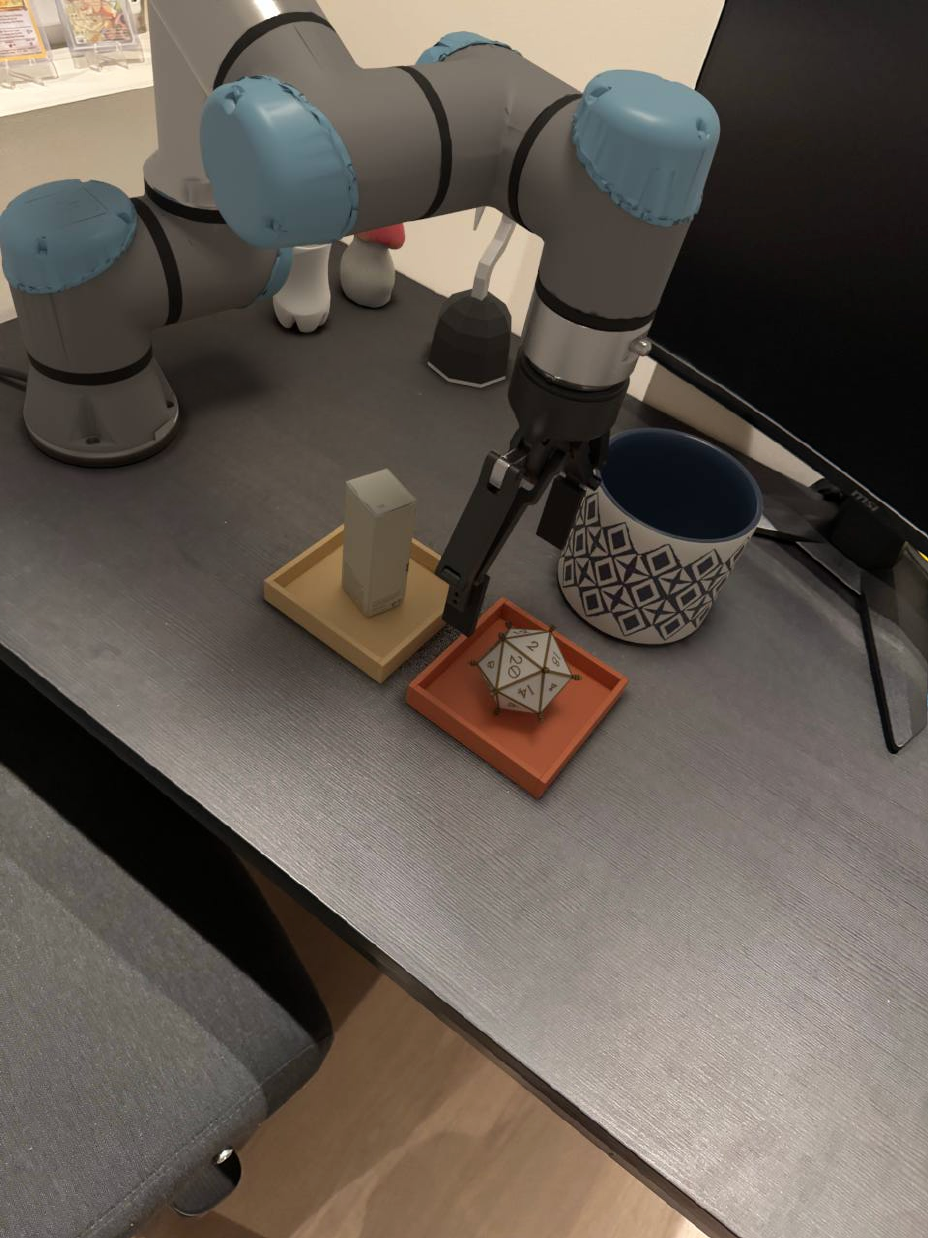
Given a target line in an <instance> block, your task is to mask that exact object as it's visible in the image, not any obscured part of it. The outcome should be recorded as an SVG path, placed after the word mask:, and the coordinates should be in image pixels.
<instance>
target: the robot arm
mask: <svg viewBox="0 0 928 1238" xmlns="http://www.w3.org/2000/svg"><path fill="white" fill-rule="evenodd" d="M146 5H147V6H146V9H147V19H148V22H147V23H148V32H149V33H148V34H149V45H150V47H149V48H150V57H151V71H152V72H151V73H152V83H153V97H154V110H155V121H156V134H157V135H156V136H157V147H158V148H157V149H156V150H155V151H153V152H152V153H151V154H150V155H149V156H148V157H147V158H146V159H145V161H144V163H143V166H142V171H143V183H144V194H143V195H139V196H132V197H129V195H128V194H126V192H125V191H123V190H122V189H121V188H120V187H118V186H116V185H115V184H114V185H113V184H111V183H109V182H106V181H103V180H102V181H101V180H97V179H90V180H87V181H82V180H81V179H80V178H66V179H60V180H59V179H57V180H53V181H49V182H45V183H42V184H39V185H36V186H33V187H31V188H28V189H26V190H25V191H23V192H21V193H20V194H18V195H17V196H15V197H14V198H13V199H11V201H9V202H8V203H7V205H6V207H5V209H4V210H3V211H2V212H1V214H0V256H1V268H2V273H3V276H4V278H5V279H6V281H7V283H8V287H9V291H10V294H11V298H12V302H13V306H14V310H15V314H16V317H17V321H18V325H19V328H20V332H21V336H22V340H23V343H24V347H25V350H26V351H25V352H26V354H27V359H28V362H29V365H28V366H29V367H28V373H27V372H23V371H21V370H20V371H19V370H17V369H12V368H8V367H3V366H0V376H1V377H6V378H9V379H14V380H17V381H21V382H25V383H26V391H25V399H24V403H23V409H22V410H23V411H22V414H23V419H24V422H25V427H26V429H27V433H28V436H29V438H30V440H31V442H32V443H33V444H34V445H35V446H36V447H37V448H38V449H39V450H40V451H41V452H43V453H45V454H46V455H48V456H49V457H52V458H54V459H55V460H58V461H61V462H64V463H66V464H67V463H68V464H70V465H75V466H81V467H90V468H91V467H92V468H96V467H97V468H106V467H108V468H109V467H117V466H123V465H128V464H133V463H136V462H139V461H142V460H145V459H147V458H149V457H152V456H154V455H155V454H157V453H159V452H160V451H162V450H163V449H165V448H166V447H167V446H168V445H169V444H170V443H171V442H172V441H173V439H174V438H175V437H176V435H177V433H178V432H179V431H178V430H179V428H180V420H181V419H180V413H179V411H180V410H179V404H178V399H177V396H176V394H175V393H174V391H173V389H172V387H171V385H170V384H169V382H168V380H167V378H166V376H165V374H164V372H163V371H162V369H161V366H160V365H159V363H158V360H157V359H156V357H155V355H154V351H153V344H152V342H153V341H152V334H151V333H152V330H156V329H159V328H163V327H166V326H167V327H168V326H171V325H175V324H180V323H183V322H187V321H190V320H195V319H198V318H202V317H207V316H210V315H215V314H218V313H222V312H225V311H230V310H243V309H246V308H249V307H251V306H253V305H255V304H256V303H259V302H263V301H265V300H268V299H271V298H273V296H274V295H275V294H277V293H278V292H279V291H280V290H281V289H282V288H283V286H284V285H285V283H286V281H287V279H288V277H289V274H290V271H291V267H292V262H293V253H294V247H298V246H306V245H314V244H317V245H325V244H331V243H332V244H334V243H335V242H338V241H341V240H342V239H343V238H346V237H351V236H354V235H355V234H359V233H363V232H367V231H372V230H376V229H380V228H384V227H388V226H392V225H396V224H400V223H403V224H404V223H410V222H416V221H422V220H427V219H432V218H437V217H441V216H446V215H451V214H455V213H460V212H465V211H470V210H474V209H476V208H478V207H482V206H486V207H488V208H493V209H495V210H497V211H499V212H500V213H501V214H502V215H503V214H504V215H506V216H507V217H508V218H510V219H511V220H513V221H514V222H516V225H518V226H520V227H522V228H523V229H524V230H525V231H527V232H529V233H531V234H532V235H533V234H534V235H536V236H537V237H539V238H540V239H541V240H542V241H543V247H542V251H541V256H540V259H539V264H538V268H537V274H536V277H535V281H534V285H533V289H532V292H531V296H530V298H529V299H530V300H529V303H528V307H527V311H526V315H525V319H524V323H523V326H522V329H521V334H520V339H519V343H520V346H519V348H518V349H517V352H516V356H515V360H514V364H513V368H512V371H511V376H510V380H509V384H508V387H507V401H508V403H509V406H510V408H511V410H512V412H513V414H514V416H515V418H516V421H517V424H518V426H519V427H518V428H517V429H516V430H515V432H514V434H513V435H512V438H511V439H510V441H509V448H508V451H507V452H506V454H505V455H503V454H501V453H499V452H498V451H496V449H495V450H494V449H491V450H490V451H489V452H488V453H487V455H486V456H485V458H484V460H483V464H482V467H481V470H480V474H479V476H478V480H477V482H476V485H475V486H474V489H473V491H472V493H471V495H470V497H469V499H468V501H467V503H466V505H465V507H464V509H463V511H462V514H461V515H460V518H459V520H458V521H457V523H456V526H455V528H454V530H453V532H452V535H451V537H450V538H449V541H448V543H447V544H446V547H445V548H444V551H443V553H442V555H441V559H440V561H439V563H438V565H437V567H436V569H435V573H434V574H435V575H436V576H437V577H439V578H440V579H441V580H443V581H444V582H446V583H447V584H449V589H448V594H447V598H446V602H445V606H444V610H443V615H442V620H444V621H445V622H446V623H447V624H448V625H449V626H451V627H452V628H453V629H455V630H456V631H458V632H459V633H461V635H462V634H463V635H465V636H466V637H468V638H469V637H470V636H471V635H473V634H474V632H475V629H476V625H477V622H478V619H479V618H480V614H481V612H482V608H483V604H484V601H485V598H486V594H487V591H488V587H489V585H490V584H489V583H490V581H491V576H490V575H488V572H489V570H490V569H491V567H492V565H493V564H494V562H495V560H496V559H497V557H498V556H499V554H500V552H501V550H502V549H503V548H504V545H505V544H506V543H507V541H508V540H509V538H510V536H511V534H512V533H513V531H514V529H515V528H516V526H517V524H518V523H519V522H520V520H521V518H522V516H524V515H523V514H524V513H525V511H526V510H527V508H528V507H530V506H534V505H537V504H538V503H539V502H540V500H541V498H542V496H544V494H545V492H546V490H547V488H548V487H549V485H550V484H551V486H550V489H549V492H548V495H547V499H546V501H545V505H544V507H543V510H542V514H541V516H540V520H539V523H538V526H537V529H536V531H535V535H536V536H537V537H539V538H541V539H542V540H543V541H545V542H547V543H548V544H550V545H551V546H553V547H555V548H556V549H558V550H559V551H563V548H564V547H565V545H566V543H567V540H568V537H569V535H570V532H571V529H572V527H573V524H574V521H575V519H576V516H577V513H578V511H579V508H580V505H581V503H582V500H583V497H584V495H585V492H586V490H584V487H585V486H586V487H588V488H589V489H591V490H593V491H596V490H597V489H598V487H599V486H600V484H601V482H602V478H600V477H598V476H597V475H595V474H594V472H593V470H594V469H597V470H599V471H601V470H602V469H603V468H604V467H605V466H606V462H607V459H608V449H609V439H610V438H611V429H612V428H613V427H614V425H615V424H616V422H617V419H618V417H619V413H620V411H621V408H622V406H623V403H624V400H625V398H626V395H627V392H628V390H629V388H630V384H631V376H632V374H633V373H634V372H635V369H636V367H637V364H638V361H639V358H640V357H646V356H649V353H650V352H651V350H652V342H651V341H650V340H648V339H647V336H648V333H649V331H650V328H651V327H652V325H653V322H654V319H655V316H656V314H657V311H658V308H659V305H660V303H661V298H662V296H663V293H664V290H665V288H666V286H667V283H668V281H669V278H670V275H671V273H672V271H673V268H674V266H675V263H676V261H677V258H678V256H679V253H680V250H681V248H682V245H683V243H684V240H685V238H686V236H687V233H688V230H689V228H690V225H691V223H692V221H693V220H694V216H695V215H697V214H698V213H699V210H700V208H701V204H702V201H703V197H704V196H703V195H704V188H705V185H706V181H707V178H708V174H709V172H710V169H711V166H712V164H713V163H712V162H713V159H714V156H715V153H716V151H717V146H718V144H719V141H720V135H721V134H720V133H721V123H720V118H719V115H718V112H717V111H716V109H715V107H714V106H713V105H712V103H711V102H710V101H709V100H708V99H707V98H706V97H705V96H703V94H701V93H699V92H698V91H697V90H695V89H694V88H692V87H690V86H688V85H686V84H683V83H681V82H678V81H672V80H668V79H666V78H663V77H662V76H661V75H659V74H656V73H651V72H647V71H642V70H635V69H609V70H604V71H602V72H600V73H598V74H596V75H594V77H592V78H591V79H590V80H589V81H588V82H587V83H586V85H585V87H584V89H583V92H582V91H581V90H579V89H577V88H575V87H574V86H572V85H570V84H569V83H567V82H565V81H563V80H562V79H560V78H559V77H557V76H555V75H554V74H552V73H551V72H549V71H547V70H545V69H544V68H542V67H541V66H539V65H537V64H536V63H534V62H532V61H531V60H529V59H527V58H526V57H524V56H523V54H522V53H521V52H520V51H518V49H513V48H512V47H511V46H510V45H508V44H507V43H504V42H501V41H498V40H493V39H489V38H488V37H485V36H483V35H480V34H478V33H475V32H471V31H466V30H461V31H453V32H449V33H447V34H445V35H443V36H441V37H440V39H439V40H438V41H436V43H435V44H433V45H432V46H431V47H428V48H426V49H425V50H423V51H422V53H421V54H420V56H419V57H418V58H417V60H416V62H415V63H414V64H409V65H394V66H387V67H372V68H371V67H370V68H369V67H368V68H364V67H362V66H359V64H357V63H356V60H355V59H354V58H353V56H352V54H351V53H350V51H349V49H348V48H347V46H346V44H345V43H344V42H343V39H342V38H341V37H340V35H339V34H338V33H337V31H336V29H335V28H334V26H333V25H332V24H331V23H330V21H329V19H328V18H327V16H326V14H325V13H324V12H323V9H322V8H321V6H320V5H319V2H318V1H317V0H146ZM332 244H331V245H332ZM561 473H563V474H564V475H565V476H563V475H561ZM552 480H553V481H552ZM524 481H526V482H528V483H529V484H531V485H533V487H532V488H531V489H530V490H529V489H527V488H525V487H524V486H523V485H524ZM551 482H552V483H551Z"/></svg>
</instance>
